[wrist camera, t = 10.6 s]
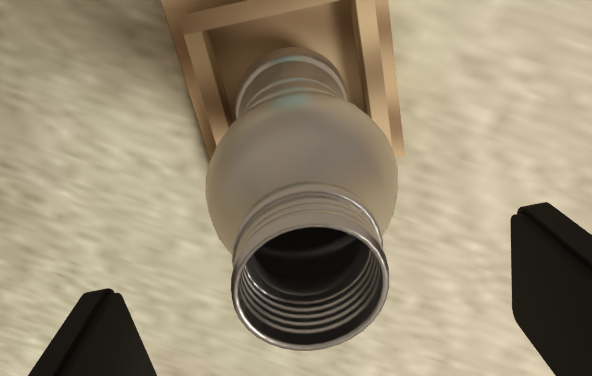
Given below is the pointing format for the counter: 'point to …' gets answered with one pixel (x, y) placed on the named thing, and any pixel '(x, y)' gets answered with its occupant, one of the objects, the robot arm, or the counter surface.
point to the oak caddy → (280, 34)
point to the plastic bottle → (303, 203)
